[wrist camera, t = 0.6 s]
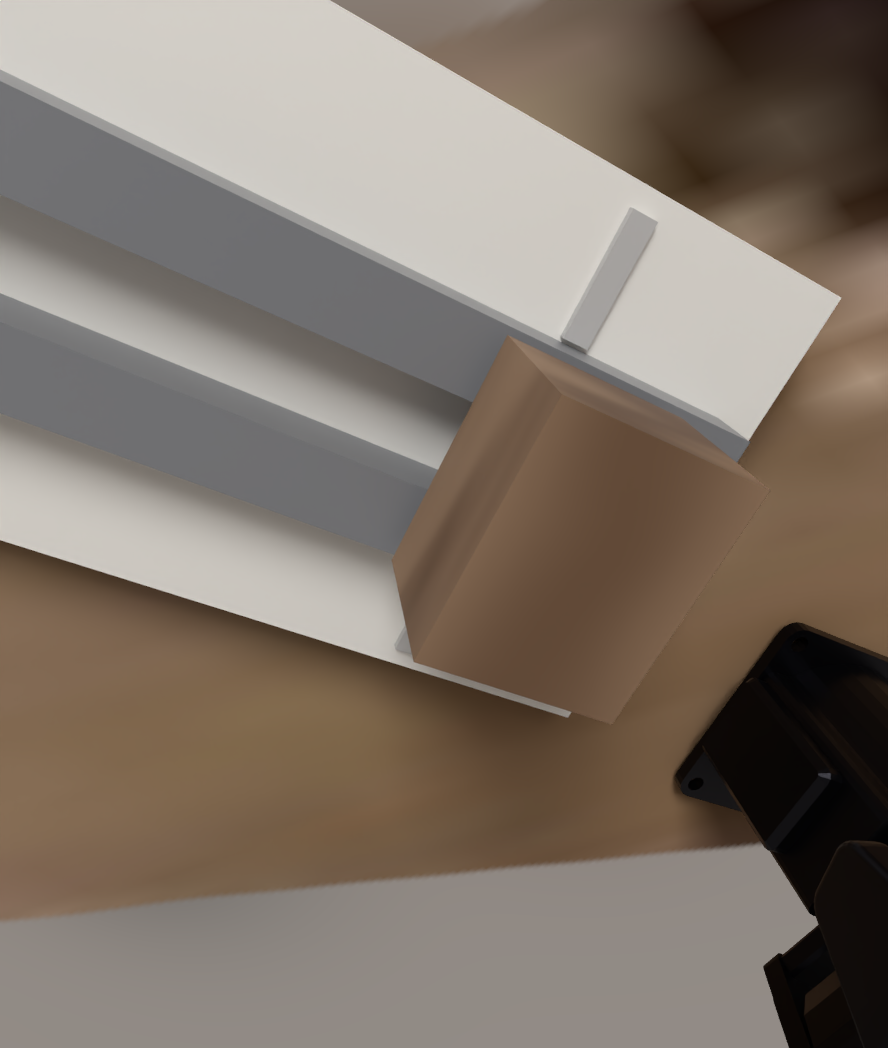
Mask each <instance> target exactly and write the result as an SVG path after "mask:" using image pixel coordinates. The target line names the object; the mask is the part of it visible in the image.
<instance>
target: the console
mask: <svg viewBox="0 0 888 1048" xmlns="http://www.w3.org/2000/svg"><path fill="white" fill-rule="evenodd" d="M840 299H841V297H839V296H837V295H836V294H834V293H832V292H831V291H829V290H827V289H825V288H824V287H822V286H820V285H819V284H817V283H815V282H813V281H812V280H810V279H808V278H806V277H805V276H803V275H801V274H800V273H798V272H796V271H794V270H793V269H791V268H789V267H788V266H786V265H784V264H782V263H781V262H779V261H777V260H776V259H774V258H772V257H770V256H769V255H767V254H765V253H763V252H762V251H760V250H758V249H757V248H755V247H753V246H751V245H750V244H748V243H746V242H745V241H743V240H741V239H739V238H738V237H736V236H734V235H733V234H731V233H729V232H727V231H726V230H724V229H722V228H720V227H719V226H717V225H715V224H714V223H712V222H710V221H708V220H707V219H705V218H703V217H702V216H700V215H698V214H696V213H695V212H693V211H691V210H690V209H688V208H686V207H684V206H683V205H681V204H679V203H677V202H676V201H674V200H672V199H671V198H669V197H667V196H665V195H664V194H662V193H660V192H659V191H657V190H655V189H653V188H652V187H650V186H648V185H646V184H645V183H643V182H641V181H640V180H638V179H636V178H634V177H633V176H631V175H629V174H628V173H626V172H624V171H622V170H621V169H619V168H617V167H616V166H614V165H612V164H610V163H609V162H607V161H605V160H603V159H602V158H600V157H598V156H597V155H595V154H593V153H591V152H590V151H588V150H586V149H585V148H583V147H581V146H579V145H578V144H576V143H574V142H573V141H571V140H569V139H567V138H566V137H564V136H562V135H560V134H559V133H557V132H555V131H554V130H552V129H550V128H548V127H547V126H545V125H543V124H542V123H540V122H538V121H536V120H535V119H533V118H531V117H530V116H528V115H526V114H524V113H523V112H521V111H519V110H517V109H516V108H514V107H512V106H511V105H509V104H507V103H505V102H504V101H502V100H500V99H499V98H497V97H495V96H493V95H492V94H490V93H488V92H487V91H485V90H483V89H481V88H480V87H478V86H476V85H474V84H473V83H471V82H469V81H468V80H466V79H464V78H462V77H461V76H459V75H457V74H456V73H454V72H452V71H450V70H449V69H447V68H445V67H444V66H442V65H440V64H438V63H437V62H435V61H433V60H431V59H430V58H428V57H426V56H425V55H423V54H421V53H419V52H418V51H416V50H414V49H413V48H411V47H409V46H407V45H406V44H404V43H402V42H401V41H399V40H397V39H395V38H393V37H392V36H390V35H388V34H387V33H385V32H383V31H382V30H380V29H378V28H376V27H375V26H373V25H371V24H369V23H368V22H366V21H364V20H363V19H361V18H359V17H357V16H356V15H354V14H352V13H351V12H349V11H347V10H345V9H344V8H342V7H340V6H338V5H337V4H335V3H333V2H332V1H330V0H0V540H1V541H4V542H8V543H11V544H14V545H17V546H20V547H24V548H27V549H30V550H33V551H36V552H40V553H43V554H46V555H49V556H52V557H56V558H59V559H62V560H65V561H68V562H72V563H75V564H78V565H81V566H84V567H88V568H91V569H94V570H97V571H100V572H104V573H107V574H110V575H113V576H116V577H120V578H123V579H126V580H129V581H132V582H136V583H139V584H142V585H145V586H148V587H152V588H155V589H158V590H161V591H164V592H168V593H171V594H174V595H177V596H180V597H183V598H187V599H190V600H193V601H196V602H199V603H203V604H206V605H209V606H212V607H215V608H219V609H222V610H225V611H228V612H231V613H235V614H238V615H241V616H244V617H247V618H251V619H254V620H257V621H260V622H263V623H267V624H270V625H273V626H276V627H279V628H283V629H286V630H289V631H292V632H295V633H299V634H302V635H305V636H308V637H311V638H315V639H318V640H321V641H324V642H327V643H331V644H334V645H337V646H340V647H343V648H347V649H350V650H353V651H356V652H359V653H363V654H366V655H369V656H372V657H375V658H379V659H382V660H385V661H388V662H391V663H394V664H398V665H401V666H404V667H407V668H410V669H414V670H417V671H420V672H423V673H426V674H430V675H433V676H436V677H439V678H442V679H446V680H449V681H452V682H455V683H458V684H462V685H465V686H468V687H471V688H474V689H478V690H481V691H484V692H487V693H490V694H494V695H497V696H500V697H503V698H506V699H510V700H513V701H516V702H519V703H522V704H526V705H529V706H532V707H535V708H538V709H542V710H545V711H548V712H551V713H554V714H558V715H561V716H564V717H567V718H568V717H569V715H570V714H571V712H570V711H567V710H564V709H561V708H557V707H554V706H551V705H548V704H545V703H542V702H538V701H535V700H532V699H529V698H526V697H523V696H519V695H516V694H513V693H510V692H507V691H504V690H500V689H497V688H494V687H491V686H488V685H485V684H481V683H478V682H475V681H472V680H469V679H466V678H463V677H459V676H456V675H453V674H450V673H447V672H444V671H440V670H437V669H434V668H431V667H428V666H425V665H421V664H418V663H415V662H413V657H412V652H411V648H410V643H409V639H408V634H407V629H406V625H405V620H404V615H403V611H402V606H401V601H400V597H399V592H398V588H397V583H396V578H395V574H394V569H393V564H392V558H393V556H394V554H395V552H396V550H397V549H398V547H399V545H400V543H401V541H402V539H403V537H404V535H405V533H406V531H407V529H408V527H409V525H410V523H411V521H412V519H413V517H414V515H415V514H416V512H417V510H418V508H419V506H420V504H421V502H422V500H423V498H424V496H425V494H426V492H427V490H428V488H429V486H430V484H431V482H432V481H433V479H434V477H435V475H436V473H437V471H438V469H439V467H440V465H441V463H442V461H443V459H444V457H445V455H446V453H447V451H448V449H449V448H450V446H451V444H452V442H453V440H454V438H455V436H456V434H457V432H458V430H459V428H460V426H461V424H462V422H463V420H464V418H465V416H466V415H467V413H468V411H469V409H470V407H471V405H472V403H473V401H474V399H475V397H476V395H477V393H478V391H479V389H480V387H481V385H482V383H483V382H484V380H485V378H486V376H487V374H488V372H489V370H490V368H491V366H492V364H493V362H494V360H495V358H496V356H497V354H498V352H499V350H500V349H501V347H502V345H503V343H504V341H505V339H506V337H507V335H509V336H511V337H513V338H515V339H517V340H519V341H521V342H523V343H526V344H528V345H530V346H532V347H534V348H536V349H538V350H540V351H542V352H544V353H547V354H549V355H551V356H553V357H555V358H557V359H559V360H561V361H563V362H565V363H567V364H570V365H572V366H574V367H576V368H578V369H580V370H582V371H584V372H586V373H588V374H591V375H593V376H595V377H597V378H599V379H601V380H603V381H605V382H607V383H609V384H612V385H614V386H616V387H618V388H620V389H622V390H624V391H626V392H628V393H630V394H632V395H635V396H637V397H639V398H641V399H643V400H645V401H647V402H649V403H651V404H653V405H656V406H658V407H660V408H662V409H664V410H666V411H668V412H670V413H672V414H674V415H677V416H679V417H681V418H682V419H684V420H685V421H686V422H687V423H689V424H690V425H691V426H692V427H693V428H695V429H696V430H697V431H698V432H700V433H701V434H702V435H703V436H704V437H706V438H707V439H708V440H709V441H711V442H712V443H713V444H714V445H716V446H717V447H718V448H719V449H720V450H722V451H723V452H724V453H725V454H727V455H728V456H729V457H730V458H731V459H733V460H734V461H735V462H736V463H737V462H738V460H739V459H740V457H741V455H742V454H743V452H744V451H745V449H746V448H747V446H748V445H749V443H750V441H749V439H750V438H751V436H752V434H753V433H754V431H755V430H756V428H757V427H758V425H759V424H760V422H761V421H762V419H763V418H764V416H765V414H766V413H767V411H768V410H769V408H770V407H771V405H772V404H773V402H774V401H775V399H776V398H777V396H778V395H779V393H780V391H781V390H782V388H783V387H784V385H785V384H786V382H787V381H788V379H789V378H790V376H791V375H792V373H793V372H794V370H795V368H796V367H797V365H798V364H799V362H800V361H801V359H802V358H803V356H804V355H805V353H806V352H807V350H808V349H809V347H810V345H811V344H812V342H813V341H814V339H815V338H816V336H817V335H818V333H819V332H820V330H821V329H822V327H823V325H824V324H825V322H826V321H827V319H828V318H829V316H830V315H831V313H832V312H833V310H834V309H835V307H836V306H837V304H838V302H839V301H840Z"/></svg>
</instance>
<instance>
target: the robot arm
mask: <svg viewBox="0 0 888 1048" xmlns="http://www.w3.org/2000/svg"><path fill="white" fill-rule="evenodd" d="M798 638H800V639H799V640H798V641H797V642H796V643H793V642H794V641H795V640H796V639H798ZM792 643H793V644H792ZM694 778H695V779H694ZM692 779H694V780H692ZM675 780H676V782H677V784H678V786H679V788H680V789H681V791H682V793H683V794H685V795H687V796H690V797H693V798H697V799H700V800H704V801H707V802H710V803H714V804H717V805H721V806H724V807H728V808H731V809H734V810H738V811H741V812H742V813H743V814H744V816H745V817H746V819H747V820H748V822H749V824H750V825H751V827H752V828H753V830H754V832H755V833H756V835H757V836H758V838H759V839H760V841H761V843H762V844H763V846H764V847H765V848H766V849H767V850H769V851H770V852H771V854H772V855H773V857H774V858H775V860H776V861H777V863H778V865H779V866H780V868H781V869H782V871H783V872H784V874H785V875H786V877H787V879H788V880H789V882H790V883H791V885H792V887H793V888H794V890H795V891H796V893H797V894H798V896H799V898H800V899H801V901H802V902H803V904H804V905H805V907H806V909H807V910H808V912H809V913H810V914H812V915H813V916H816V918H817V921H818V924H819V925H818V926H816V927H815V928H814V929H813V930H812V931H811V932H809V933H808V934H807V935H806V936H805V937H803V938H802V939H801V940H800V941H799V942H797V943H796V944H795V945H794V946H793V947H792V948H790V949H789V950H788V951H787V952H786V953H784V954H783V955H782V954H780V953H778V954H777V955H776V956H775V957H774V958H772V959H771V960H770V961H769V962H768V963H766V964H765V965H764V971H765V975H766V978H767V981H768V984H769V987H770V989H771V992H772V996H773V1000H774V1004H775V1007H776V1010H777V1013H778V1016H779V1019H780V1022H781V1025H782V1028H783V1031H784V1034H785V1037H786V1040H787V1043H788V1046H789V1048H888V657H885V656H883V655H880V654H878V653H875V652H873V651H870V650H868V649H865V648H863V647H860V646H858V645H855V644H853V643H850V642H848V641H845V640H843V639H840V638H838V637H835V636H833V635H830V634H828V633H825V632H823V631H820V630H818V629H815V628H813V627H810V626H808V625H805V624H803V623H797V622H796V623H791V624H789V625H787V626H785V627H784V628H783V629H782V630H781V631H780V632H779V633H778V635H777V636H776V637H775V639H774V640H773V641H772V643H771V644H770V646H769V647H768V648H767V650H766V651H765V652H764V654H763V655H762V656H761V658H760V659H759V661H758V662H757V663H756V665H755V666H754V667H753V669H752V670H751V672H750V673H749V674H748V676H747V677H746V678H745V680H744V681H743V683H742V684H741V685H740V687H739V688H738V689H737V691H736V692H735V693H734V695H733V696H732V698H731V699H730V700H729V702H728V703H727V704H726V706H725V707H724V709H723V710H722V711H721V713H720V714H719V715H718V717H717V718H716V719H715V721H714V722H713V724H712V725H711V726H710V728H709V729H708V730H707V732H706V733H705V735H704V736H703V737H702V739H701V740H700V741H699V743H698V744H697V745H696V747H695V748H694V750H693V751H692V752H691V754H690V755H689V756H688V758H687V759H686V761H685V762H684V763H683V765H682V766H681V767H680V769H679V770H678V772H677V774H676V778H675Z"/></svg>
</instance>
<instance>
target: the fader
mask: <svg viewBox="0 0 888 1048" xmlns="http://www.w3.org/2000/svg"><path fill="white" fill-rule="evenodd" d="M770 491H771V490H769V489H768V488H767V487H766V486H765V485H763V484H762V483H761V482H760V481H758V480H757V479H756V478H755V477H753V476H752V475H751V474H750V473H749V472H747V471H746V470H745V469H744V468H742V467H741V466H740V465H739V464H738V463H736V462H735V461H734V460H733V459H731V458H730V457H729V456H728V455H727V454H725V453H724V452H723V451H722V450H720V449H719V448H718V447H717V446H716V445H714V444H713V443H712V442H711V441H709V440H708V439H707V438H706V437H704V436H703V435H702V434H701V433H700V432H698V431H697V430H696V429H695V428H693V427H692V426H691V425H690V424H689V423H687V422H686V421H685V420H684V419H682V418H681V417H679V416H677V415H674V414H672V413H670V412H668V411H666V410H664V409H662V408H660V407H658V406H656V405H653V404H651V403H649V402H647V401H645V400H643V399H641V398H639V397H637V396H635V395H632V394H630V393H628V392H626V391H624V390H622V389H620V388H618V387H616V386H614V385H612V384H609V383H607V382H605V381H603V380H601V379H599V378H597V377H595V376H593V375H591V374H588V373H586V372H584V371H582V370H580V369H578V368H576V367H574V366H572V365H570V364H567V363H565V362H563V361H561V360H559V359H557V358H555V357H553V356H551V355H549V354H547V353H544V352H542V351H540V350H538V349H536V348H534V347H532V346H530V345H528V344H526V343H523V342H521V341H519V340H517V339H515V338H513V337H511V336H509V335H507V337H506V339H505V341H504V343H503V345H502V347H501V349H500V350H499V352H498V354H497V356H496V358H495V360H494V362H493V364H492V366H491V368H490V370H489V372H488V374H487V376H486V378H485V380H484V382H483V383H482V385H481V387H480V389H479V391H478V393H477V395H476V397H475V399H474V401H473V403H472V405H471V407H470V409H469V411H468V413H467V415H466V416H465V418H464V420H463V422H462V424H461V426H460V428H459V430H458V432H457V434H456V436H455V438H454V440H453V442H452V444H451V446H450V448H449V449H448V451H447V453H446V455H445V457H444V459H443V461H442V463H441V465H440V467H439V469H438V471H437V473H436V475H435V477H434V479H433V481H432V482H431V484H430V486H429V488H428V490H427V492H426V494H425V496H424V498H423V500H422V502H421V504H420V506H419V508H418V510H417V512H416V514H415V515H414V517H413V519H412V521H411V523H410V525H409V527H408V529H407V531H406V533H405V535H404V537H403V539H402V541H401V543H400V545H399V547H398V549H397V550H396V552H395V554H394V556H393V558H392V564H393V569H394V574H395V578H396V583H397V588H398V592H399V597H400V601H401V606H402V611H403V615H404V620H405V625H406V629H407V634H408V639H409V643H410V648H411V652H412V657H413V662H415V663H418V664H421V665H425V666H428V667H431V668H434V669H437V670H440V671H444V672H447V673H450V674H453V675H456V676H459V677H463V678H466V679H469V680H472V681H475V682H478V683H481V684H485V685H488V686H491V687H494V688H497V689H500V690H504V691H507V692H510V693H513V694H516V695H519V696H523V697H526V698H529V699H532V700H535V701H538V702H542V703H545V704H548V705H551V706H554V707H557V708H561V709H564V710H567V711H570V712H573V713H576V714H580V715H583V716H586V717H589V718H592V719H595V720H599V721H602V722H605V723H608V724H611V725H612V724H613V723H614V721H615V720H616V718H617V717H618V715H619V714H620V712H621V711H622V709H623V708H624V706H625V705H626V703H627V702H628V701H629V699H630V698H631V696H632V695H633V693H634V692H635V690H636V689H637V687H638V686H639V684H640V683H641V681H642V680H643V678H644V677H645V675H646V674H647V672H648V671H649V670H650V668H651V667H652V665H653V664H654V662H655V661H656V659H657V658H658V656H659V655H660V653H661V652H662V650H663V649H664V647H665V646H666V644H667V643H668V642H669V640H670V639H671V637H672V636H673V634H674V633H675V631H676V630H677V628H678V627H679V625H680V624H681V622H682V621H683V619H684V618H685V616H686V615H687V613H688V612H689V611H690V609H691V608H692V606H693V605H694V603H695V602H696V600H697V599H698V597H699V596H700V594H701V593H702V591H703V590H704V588H705V587H706V585H707V584H708V582H709V581H710V580H711V578H712V577H713V575H714V574H715V572H716V571H717V569H718V568H719V566H720V565H721V563H722V562H723V560H724V559H725V557H726V556H727V554H728V553H729V551H730V550H731V549H732V547H733V546H734V544H735V543H736V541H737V540H738V538H739V537H740V535H741V534H742V532H743V531H744V529H745V528H746V526H747V525H748V523H749V522H750V520H751V519H752V518H753V516H754V515H755V513H756V512H757V510H758V509H759V507H760V506H761V504H762V503H763V501H764V500H765V498H766V497H767V495H768V494H769V492H770Z"/></svg>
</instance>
